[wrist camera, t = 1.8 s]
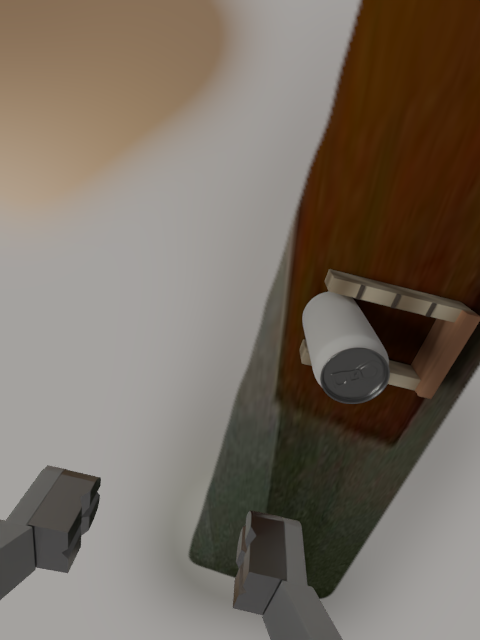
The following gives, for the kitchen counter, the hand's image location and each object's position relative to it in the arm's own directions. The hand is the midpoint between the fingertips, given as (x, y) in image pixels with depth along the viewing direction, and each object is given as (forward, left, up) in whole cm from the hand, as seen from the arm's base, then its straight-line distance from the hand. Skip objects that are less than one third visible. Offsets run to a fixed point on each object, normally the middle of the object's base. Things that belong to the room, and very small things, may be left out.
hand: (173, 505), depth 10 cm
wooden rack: (-11, +14, -29) cm, 34 cm away
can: (-7, +11, -29) cm, 32 cm away
